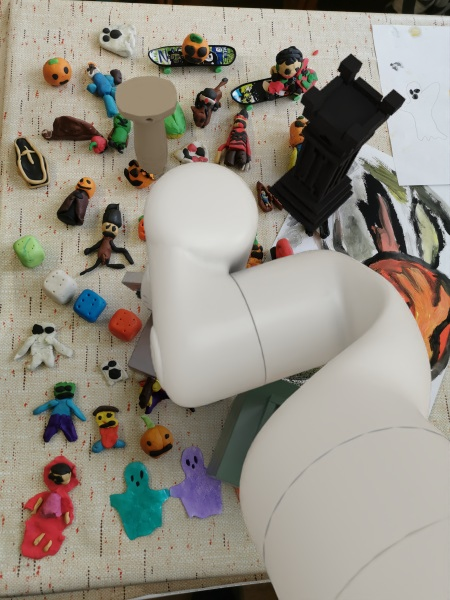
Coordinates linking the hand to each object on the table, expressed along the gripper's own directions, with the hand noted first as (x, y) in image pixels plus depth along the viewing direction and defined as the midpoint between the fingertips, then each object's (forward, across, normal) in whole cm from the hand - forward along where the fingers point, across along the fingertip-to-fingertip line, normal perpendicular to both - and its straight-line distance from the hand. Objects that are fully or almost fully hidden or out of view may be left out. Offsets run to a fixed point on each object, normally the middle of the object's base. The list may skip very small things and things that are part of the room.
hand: (192, 324), depth 63 cm
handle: (+4, +13, -18) cm, 22 cm away
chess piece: (+4, -7, -23) cm, 24 cm away
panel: (+3, 0, 0) cm, 3 cm away
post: (+3, -12, +10) cm, 16 cm away
